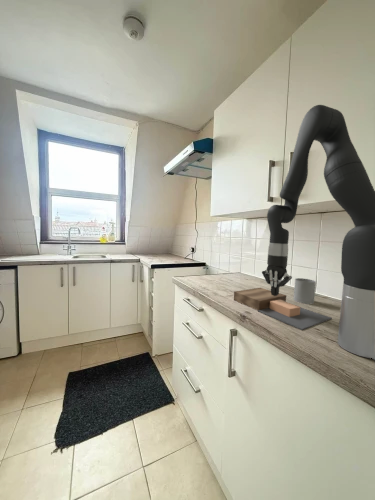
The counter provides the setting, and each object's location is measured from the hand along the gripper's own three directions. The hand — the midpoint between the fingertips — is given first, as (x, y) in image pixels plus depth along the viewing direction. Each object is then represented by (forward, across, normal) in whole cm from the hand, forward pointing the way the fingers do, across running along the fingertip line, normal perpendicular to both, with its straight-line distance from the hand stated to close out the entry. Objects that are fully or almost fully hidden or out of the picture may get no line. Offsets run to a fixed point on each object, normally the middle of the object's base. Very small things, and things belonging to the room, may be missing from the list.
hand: (274, 295), depth 83 cm
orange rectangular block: (+5, -6, +1) cm, 7 cm away
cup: (+6, -1, -21) cm, 22 cm away
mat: (+5, -9, 0) cm, 10 cm away
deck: (+5, +7, 0) cm, 9 cm away
